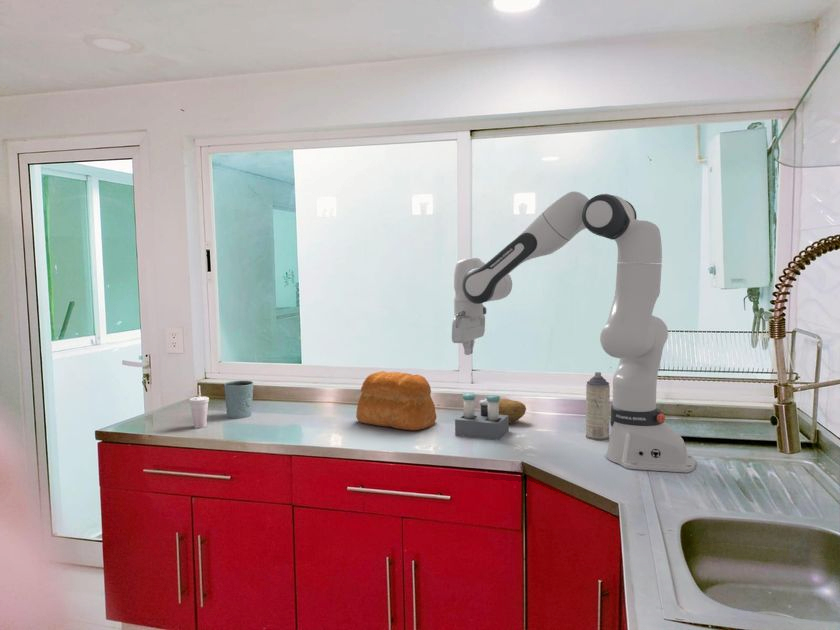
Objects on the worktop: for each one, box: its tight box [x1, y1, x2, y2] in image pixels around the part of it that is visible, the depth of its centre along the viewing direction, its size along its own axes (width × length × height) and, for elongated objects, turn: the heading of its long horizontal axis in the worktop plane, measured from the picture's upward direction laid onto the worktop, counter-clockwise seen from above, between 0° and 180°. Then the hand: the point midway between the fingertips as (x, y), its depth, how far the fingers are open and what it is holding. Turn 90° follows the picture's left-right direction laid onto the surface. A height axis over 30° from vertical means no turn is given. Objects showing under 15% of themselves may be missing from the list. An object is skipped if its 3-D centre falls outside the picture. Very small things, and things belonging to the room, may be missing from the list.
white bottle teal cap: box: [486, 394, 501, 421], centre depth 184 cm, size 4×4×7 cm
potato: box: [499, 398, 527, 423], centre depth 200 cm, size 10×14×8 cm
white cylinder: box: [462, 392, 476, 418], centre depth 188 cm, size 4×4×7 cm
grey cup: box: [223, 380, 254, 420], centre depth 214 cm, size 10×10×12 cm
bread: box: [355, 370, 437, 431], centre depth 201 cm, size 16×26×17 cm, turn 59°
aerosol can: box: [585, 371, 611, 441], centre depth 181 cm, size 7×7×20 cm
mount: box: [454, 398, 510, 441], centre depth 187 cm, size 14×11×10 cm
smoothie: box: [188, 385, 210, 429], centre depth 199 cm, size 6×6×14 cm
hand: (468, 354), depth 187 cm, fingers closed
